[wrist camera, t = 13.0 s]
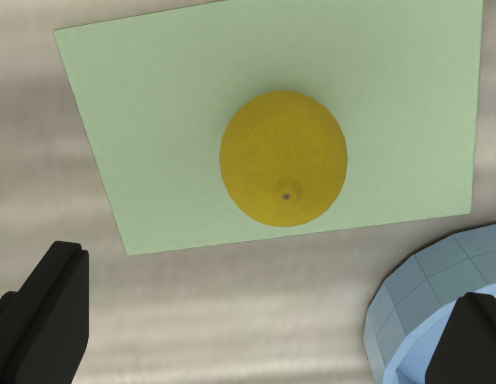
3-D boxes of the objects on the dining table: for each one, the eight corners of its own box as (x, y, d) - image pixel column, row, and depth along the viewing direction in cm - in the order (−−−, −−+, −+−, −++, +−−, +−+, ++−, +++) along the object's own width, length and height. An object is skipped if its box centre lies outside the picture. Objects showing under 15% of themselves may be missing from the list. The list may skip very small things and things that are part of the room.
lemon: (324, 63, 22) (355, 107, 15) (339, 166, 24) (372, 248, 17) (214, 87, 23) (191, 141, 15) (239, 185, 25) (230, 272, 18)
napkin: (128, 253, 27) (126, 256, 27) (54, 30, 22) (52, 30, 22) (468, 211, 26) (470, 213, 25) (483, -46, 20) (486, -46, 20)
